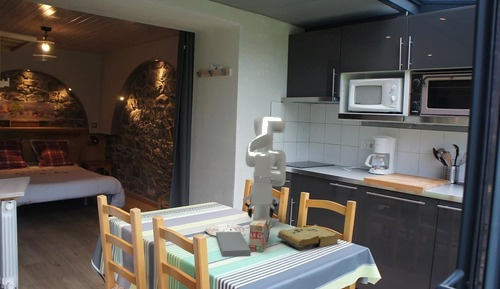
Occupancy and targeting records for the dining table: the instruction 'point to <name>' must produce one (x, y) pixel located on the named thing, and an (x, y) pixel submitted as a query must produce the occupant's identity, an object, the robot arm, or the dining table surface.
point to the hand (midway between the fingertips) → (260, 217)
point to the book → (308, 237)
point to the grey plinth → (232, 244)
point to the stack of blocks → (259, 234)
